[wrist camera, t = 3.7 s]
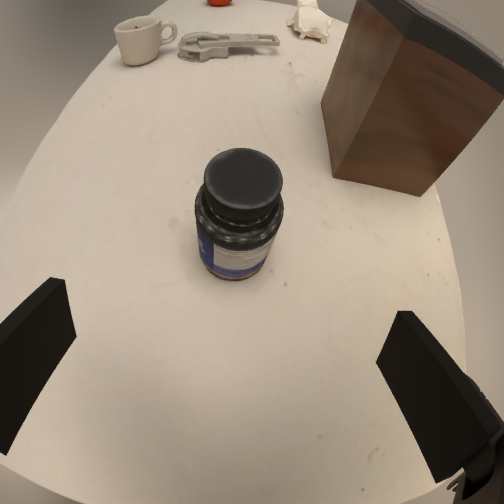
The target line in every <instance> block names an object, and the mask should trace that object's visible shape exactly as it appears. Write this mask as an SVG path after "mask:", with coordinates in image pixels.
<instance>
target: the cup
mask: <svg viewBox="0 0 504 504" xmlns="http://www.w3.org/2000/svg"><path fill="white" fill-rule="evenodd" d="M167 26H170V27H171V28H172V35H171V36H170V38H168V39H163V38H162V30H163V29H164V28H165V27H167ZM114 32H115V36H116V39H117V42H118V46H119V49H120V53H121V56H122V59H123V61H124V62H125V63H126V64H128V65H141V64H145V63H148V62H150V61H152V60H153V59H155V58H156V57H157V55H158V52H159V48H160V46H162V45H164V44H168V43H171V42H172V41H174V39H175V38H176V35H177V27H176V25H175V24H174V23H173V22H170V21H161V19H160V18H159V17H157V16H141V17H136V18H132V19H129V20H126V21H124V22H121V23H120V24H118V25H117V26H116V27H115V28H114Z"/></svg>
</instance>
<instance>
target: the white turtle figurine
mask: <svg viewBox="0 0 504 504" xmlns="http://www.w3.org/2000/svg"><path fill="white" fill-rule="evenodd" d="M296 7H297V9H296V13H295V16H294V17H293V18H292V19H290V20H289V21H288V22H287V26H294V30H296V31H299V32H300V33H301V34H300V38H299V39H304V37H305V36H308V37H313V38H321V43H325V42H326V38H327V37H328V36H329V34H330V31H331V25H332V24H331V20H330V18H329V17H328V16H327V15H326V14H324V13H323V12H322V11H320V10H318V4H317V1H316V0H298V1H297V4H296Z"/></svg>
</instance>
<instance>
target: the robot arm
mask: <svg viewBox="0 0 504 504" xmlns="http://www.w3.org/2000/svg"><path fill="white" fill-rule="evenodd" d="M76 337H77V336H76V332H75V328H74V324H73V319H72V315H71V310H70V306H69V301H68V295H67V290H66V284H65V280H63V279H58V278H52V277H50V278H49V279H47V280H46V281H45V282H44V283H43V284H42V285H41V286H40V287H38V288H37V289H36V290H35V291H34V292H33V293H32V294H31V295H30V296H29V297H27V298H26V299H25V300H24V301H23V302H22V303H21V304H20V305H19V306H18V307H17V308H16V309H15V310H14V311H13V312H12V313H11V314H10V315H9V316H8V317H7V318H6V319H5V320H4V321H3V322H2V323H1V324H0V453H2V454H4V455H5V456H6V455H7V453H8V451H9V449H10V447H11V445H12V443H13V441H14V439H15V437H16V435H17V433H18V432H19V430H20V428H21V426H22V424H23V422H24V420H25V419H26V417H27V415H28V413H29V411H30V410H31V408H32V406H33V404H34V403H35V401H36V399H37V398H38V396H39V394H40V392H41V391H42V389H43V387H44V386H45V384H46V383H47V381H48V379H49V378H50V376H51V375H52V373H53V371H54V370H55V368H56V367H57V365H58V364H59V362H60V361H61V359H62V358H63V356H64V355H65V353H66V352H67V350H68V349H69V347H70V346H71V344H72V343H73V341H74V340H75V338H76ZM376 364H377V365H378V367H379V369H380V371H381V373H382V375H383V377H384V378H385V380H386V382H387V384H388V386H389V388H390V390H391V392H392V394H393V395H394V397H395V399H396V401H397V403H398V405H399V407H400V409H401V411H402V413H403V415H404V417H405V419H406V421H407V423H408V425H409V427H410V429H411V431H412V433H413V435H414V437H415V439H416V441H417V443H418V445H419V448H420V450H421V452H422V454H423V456H424V458H425V460H426V463H427V465H428V467H429V469H430V471H431V474H432V476H433V478H434V480H435V483H439V482H441V481H443V480H445V479H447V478H450V477H452V476H453V475H454V474H455V473H456V472H457V471H459V470H460V469H461V468H462V467H463V469H464V472H463V473H462V474H461V475H460V476H458V477H457V478H456V479H455V480H453V481H452V482H451V483H450V484H449V485H448V487H447V490H449V489H450V488H452V487H453V486H454V485H456V484H457V483H458V485H457V486H456V487H454V488H453V490H452V491H454V492H456V494H455V498H454V501H453V504H504V422H503V421H502V419H501V418H500V416H499V415H498V413H497V412H496V410H495V409H494V408H493V406H492V405H491V403H490V402H489V401H488V399H486V397H485V395H484V394H483V393H482V392H480V389H479V387H478V386H477V384H476V383H475V382H474V381H473V380H472V379H471V378H470V377H468V376H467V375H466V374H465V373H463V372H462V370H461V369H460V368H459V366H458V365H457V364H456V363H455V361H454V360H453V359H452V358H451V356H450V355H449V354H448V353H447V351H446V350H445V349H444V348H443V347H442V345H441V344H440V343H439V342H438V341H437V339H436V338H435V337H434V336H433V335H432V333H431V332H430V331H429V330H428V329H427V328H426V326H425V325H424V324H423V323H422V322H421V321H420V319H419V318H418V317H417V316H416V315H415V314H414V313H413V312H412V311H397V314H396V317H395V319H394V322H393V324H392V327H391V329H390V331H389V334H388V336H387V338H386V341H385V343H384V345H383V348H382V350H381V352H380V354H379V356H378V359H377V361H376Z"/></svg>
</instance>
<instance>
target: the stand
mask: <svg viewBox="0 0 504 504" xmlns="http://www.w3.org/2000/svg"><path fill="white" fill-rule="evenodd" d="M503 99H504V95H503V94H501V93H500V92H499V91H497V90H496V89H495V88H493V87H492V86H491V85H489V84H488V83H486V82H485V81H483V80H482V79H481V78H479V77H478V76H476V75H475V74H473V73H471V72H470V71H468V70H467V69H465V68H464V67H462V66H460V65H459V64H457V63H455V62H454V61H452V60H450V59H448V58H447V57H445V56H443V55H441V54H439V53H437V52H436V51H434V50H432V49H430V48H428V47H426V46H424V45H422V44H420V43H418V42H415V41H413V40H411V39H409V38H407V37H405V36H404V35H403V34H402V33H401V32H400V31H399V30H398V29H397V28H396V27H395V26H394V25H393V24H392V23H391V22H390V21H389V20H388V19H387V18H386V17H385V16H384V15H382V14H381V13H380V12H379V11H378V10H377V9H376V8H375V7H374V6H373V5H371V4H370V3H369V2H368V1H367V0H357V2H356V5H355V7H354V10H353V13H352V16H351V19H350V22H349V25H348V27H347V30H346V33H345V36H344V39H343V42H342V45H341V48H340V50H339V53H338V56H337V59H336V62H335V64H334V67H333V70H332V73H331V76H330V79H329V81H328V84H327V87H326V90H325V92H324V95H323V98H322V101H321V107H322V112H323V117H324V123H325V129H326V134H327V141H328V147H329V153H330V160H331V167H332V174H333V178H337V179H343V180H348V181H353V182H358V183H363V184H368V185H372V186H377V187H381V188H386V189H390V190H395V191H399V192H403V193H407V194H411V195H415V196H419V197H421V196H422V195H423V194H424V193H425V192H426V191H427V189H428V188H429V187H430V186H431V185H432V184H433V183H434V182H435V181H436V180H437V179H438V178H439V177H440V175H441V174H442V173H443V172H444V171H445V170H446V169H447V168H448V166H449V165H450V164H451V163H452V162H453V161H454V160H455V159H456V157H457V156H458V155H459V154H460V153H461V152H462V151H463V149H464V148H465V147H466V146H467V145H468V144H469V142H470V141H471V140H472V139H473V137H474V136H475V135H476V134H477V133H478V131H479V130H480V129H481V128H482V126H483V125H484V124H485V123H486V122H487V120H488V119H489V118H490V116H491V115H492V114H493V113H494V111H495V110H496V109H497V107H498V106H499V105H500V103H501V102H502V101H503Z"/></svg>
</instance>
